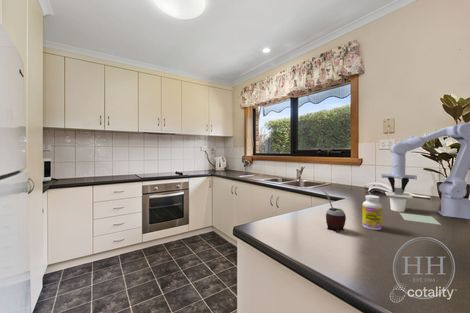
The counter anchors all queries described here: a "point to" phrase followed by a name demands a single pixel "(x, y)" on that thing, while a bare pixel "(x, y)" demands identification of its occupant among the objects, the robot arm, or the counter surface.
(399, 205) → the shot glass
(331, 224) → the mate gourd
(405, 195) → the lid
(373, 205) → the supplement bottle
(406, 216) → the mat
